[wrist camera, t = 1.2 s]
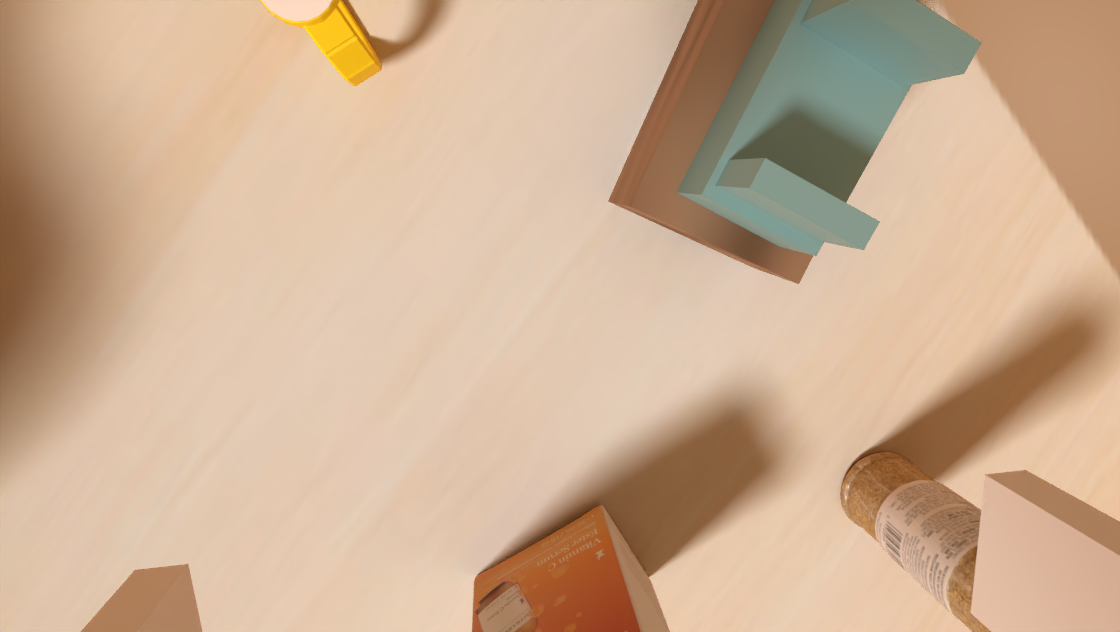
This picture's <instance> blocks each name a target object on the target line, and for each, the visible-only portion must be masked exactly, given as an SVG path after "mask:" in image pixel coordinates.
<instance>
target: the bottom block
mask: <svg viewBox="0 0 1120 632" xmlns="http://www.w3.org/2000/svg"><path fill="white" fill-rule="evenodd" d="M774 1H775V0H698V2H697V4H696V6H695V9H694V11H693V13H692V15H691V18H690V20H689V22H688V24H687V27H686V29H685V31H684V33H683V35H682V38H681V40H680V42H679V44H678V47H677V49H676V51H675V53H674V56H673V58H672V60H671V62H670V64H669V67H668V69H667V71H666V73H665V76H664V78H663V80H662V82H661V85H660V87H659V89H658V91H657V93H656V96H655V98H654V100H653V102H652V105H651V107H650V109H649V111H648V114H647V116H646V118H645V120H644V122H643V125H642V127H641V129H640V131H639V134H638V136H637V138H636V140H635V143H634V145H633V147H632V149H631V152H630V154H629V156H628V158H627V160H626V163H625V165H624V167H623V169H622V172H621V174H620V176H619V178H618V181H617V183H616V185H615V187H614V189H613V192H612V194H611V196H610V198H609V202H611V203H613V204H615V205H617V206H620V207H622V208H624V209H626V210H628V211H631V212H633V213H635V214H637V215H639V216H642V217H644V218H646V219H648V220H650V221H652V222H655V223H657V224H659V225H661V226H663V227H666V228H668V229H670V230H672V231H674V232H676V233H679V234H681V235H683V236H685V237H687V238H690V239H692V240H694V241H696V242H698V243H701V244H703V245H705V246H707V247H709V248H711V249H714V250H716V251H718V252H720V253H722V254H725V255H727V256H729V257H731V258H733V259H735V260H738V261H740V262H742V263H744V264H746V265H749V266H751V267H753V268H756V269H758V270H761V271H764V272H767V273H770V274H772V275H775V276H778V277H781V278H784V279H786V280H789V281H792V282H795V283H798V284H799V283H800V281H801V279H802V277H803V275H804V273H805V271H806V269H807V267H808V265H809V263H810V261H811V259H812V257H813V255H810V254H806V253H802V252H798V251H794V250H790V249H786V248H782V247H779V246H777V245H775V244H773V243H771V242H770V241H768V240H766V239H764V238H762V237H760V236H758V235H756V234H754V233H752V232H751V231H749V230H747V229H745V228H743V227H741V226H739V225H737V224H735V223H733V222H732V221H730V220H728V219H726V218H724V217H722V216H720V215H718V214H716V213H715V212H713V211H711V210H709V209H707V208H705V207H703V206H701V205H699V204H697V203H696V202H694V201H692V200H690V199H688V198H686V197H684V196H682V195H680V194H678V193H677V190H678V188H679V186H680V184H681V182H682V180H683V179H684V177H685V175H686V173H687V171H688V169H689V167H690V165H691V163H692V161H693V159H694V157H695V155H696V153H697V151H698V149H699V147H700V145H701V143H702V142H703V140H704V138H705V136H706V134H707V132H708V130H709V128H710V126H711V124H712V122H713V120H714V118H715V116H716V114H717V112H718V110H719V108H720V106H721V104H722V103H723V101H724V99H725V97H726V95H727V93H728V91H729V89H730V87H731V85H732V83H733V81H734V79H735V77H736V75H737V73H738V71H739V69H740V67H741V66H742V64H743V62H744V60H745V58H746V56H747V54H748V52H749V50H750V48H751V46H752V44H753V42H754V40H755V38H756V36H757V34H758V32H759V30H760V29H761V27H762V25H763V23H764V21H765V19H766V17H767V15H768V13H769V11H770V9H771V7H772V5H773V3H774Z"/></svg>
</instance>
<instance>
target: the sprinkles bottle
mask: <svg viewBox="0 0 1120 632" xmlns="http://www.w3.org/2000/svg"><path fill="white" fill-rule="evenodd" d="M841 501H842V507H843V509H844V511H845V513H846V515H847V516H848V517H849V518H850V519H851V520H852V521H853V522H854V523H856V524H857V525H858V526H860V527H862V528H863V529H864V530H865V531H866V532H867V533H868V534H870V535H871V536H872V537H873V538H874V539H875V540H876V541H877V542H878V543H879V544H880V546H881V547H882V548H883V550H884V551H885V552H886V553H887V554H888V555H889V556H891V557H892V558H893V559H894V560H895V561H896V562H897V563H898V564H899V565H900V566H901V567H902V568H903V569H904V570H905V571H906V572H907V573H908V574H909V575H910V576H912V577H913V578H914V579H915V580H916V581H917V582H918V583H919V584H920V585H921V586H922V587H923V588H924V589H925V590H926V591H927V592H928V593H929V594H930V595H932V596H933V597H934V598H935V599H936V600H937V601H938V602H939V603H940V604H941V605H942V606H943V607H944V608H945V609H947V610H948V611H949V612H950V613H951V614H952V615H953V616H954V617H955V618H956V619H957V620H959V621H960V622H962V623H964V624H965V625H966V626H967V627H968V628H969V629H970V630H971V631H972V632H991V631H990V630H989V629H988V628H987V627H986V626H984V625H983V624H982V623H981V622H980V621H979V620H978V619H977V618H976V617H974V616H973V615H972V614H971V604H972V594H973V585H974V575H975V566H976V556H977V547H978V537H979V528H980V518H981V510H980V509H979V508H977V507H976V506H974V505H973V504H971V503H970V502H968V501H967V500H965V499H964V498H962V497H961V496H960V495H958V494H957V493H955V492H954V491H952V490H951V489H949V488H948V487H946V486H945V485H943V484H941V483H938V482H936V481H935V480H933V479H932V478H931V477H929V476H927V475H926V474H924V473H923V472H922V471H920V470H919V469H917V468H916V467H915V466H914V465H913V464H912V463H911V462H910V461H909V460H908V459H906V458H905V457H903V456H901V455H898V454H895V453H891V452H882V453H875V454H872V455H869V456H867V457H865V458H863V459H861V460H860V461H858V462H857V463H856V464H855V465H854V466H853V467H852V468H851V469H850V471H849V472H848V473H847V475H846V477H845V479H844V481H843V483H842V486H841Z"/></svg>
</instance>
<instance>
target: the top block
mask: <svg viewBox="0 0 1120 632" xmlns="http://www.w3.org/2000/svg"><path fill="white" fill-rule="evenodd" d="M980 44H981V42H980V41H978V40H977V39H975V38H973V37H972V36H970V35H969V34H967V33H966V32H964V31H963V30H961V29H960V28H958V27H957V26H955V25H954V24H952V23H951V22H949V21H948V20H946V19H944V18H943V17H941V16H940V15H938V14H937V13H935V12H934V11H932V10H931V9H929V8H928V7H926V6H925V5H923V4H922V3H920V2H918V1H917V0H775V1H774V3H773V5H772V7H771V9H770V11H769V13H768V15H767V17H766V19H765V21H764V23H763V25H762V27H761V29H760V30H759V32H758V34H757V36H756V38H755V40H754V42H753V44H752V46H751V48H750V50H749V52H748V54H747V56H746V58H745V60H744V62H743V64H742V66H741V67H740V69H739V71H738V73H737V75H736V77H735V79H734V81H733V83H732V85H731V87H730V89H729V91H728V93H727V95H726V97H725V99H724V101H723V103H722V104H721V106H720V108H719V110H718V112H717V114H716V116H715V118H714V120H713V122H712V124H711V126H710V128H709V130H708V132H707V134H706V136H705V138H704V140H703V142H702V143H701V145H700V147H699V149H698V151H697V153H696V155H695V157H694V159H693V161H692V163H691V165H690V167H689V169H688V171H687V173H686V175H685V177H684V179H683V180H682V182H681V184H680V186H679V188H678V190H677V193H678V194H680V195H682V196H684V197H686V198H688V199H690V200H692V201H694V202H696V203H697V204H699V205H701V206H703V207H705V208H707V209H709V210H711V211H713V212H715V213H716V214H718V215H720V216H722V217H724V218H726V219H728V220H730V221H732V222H733V223H735V224H737V225H739V226H741V227H743V228H745V229H747V230H749V231H751V232H752V233H754V234H756V235H758V236H760V237H762V238H764V239H766V240H768V241H770V242H771V243H773V244H775V245H777V246H779V247H782V248H786V249H790V250H794V251H798V252H802V253H806V254H810V255H814V256H816V255H817V254H818V252H819V250H820V248H821V246H822V245H823V243H824V242H827V243H832V244H837V245H842V246H846V247H851V248H856V249H861V250H864V248H865V247H866V245H867V243H868V241H869V240H870V238H871V236H872V234H873V233H874V231H875V229H876V227H877V226H878V224H879V221H877V220H876V219H874V218H872V217H870V216H868V215H867V214H865V213H863V212H861V211H860V210H858V209H856V208H854V207H852V206H851V205H849V204H847V203H846V202H847V200H848V198H849V196H850V194H851V193H852V191H853V189H854V187H855V186H856V184H857V182H858V180H859V178H860V177H861V175H862V173H863V171H864V169H865V168H866V166H867V164H868V162H869V160H870V159H871V157H872V155H873V153H874V151H875V150H876V148H877V146H878V144H879V143H880V141H881V139H882V137H883V135H884V134H885V132H886V130H887V128H888V126H889V125H890V123H891V121H892V119H893V117H894V116H895V114H896V112H897V110H898V108H899V107H900V105H901V103H902V101H903V99H904V98H905V96H906V94H907V92H908V91H909V89H910V87H911V85H912V84H916V83H921V82H926V81H931V80H936V79H941V78H946V77H950V76H955V75H960V74H964V73H965V71H966V69H967V68H968V66H969V64H970V62H971V61H972V59H973V57H974V55H975V53H976V52H977V50H978V48H979V46H980Z"/></svg>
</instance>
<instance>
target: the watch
mask: <svg viewBox="0 0 1120 632" xmlns="http://www.w3.org/2000/svg"><path fill="white" fill-rule="evenodd" d="M260 1H261V3H262V4H263V5H264V6H265V7H266V9H267V10H268V11H269V12H270V13H271V14H273V15H274V16H275V17H277V18H278V19H280V20H281V21H283V22H285V23H286V24H289V25H293V26H297V27H304V28H305V30H306V31H307V32H308V34H309V35H310V36H311V38H312V39H313V40H314V42H315V43H316V45H317V46H318V47H319V49H320V50H321V51H322V53H323V54H324V55H325V56H326V58H327V59H328V60H329V61H330V63H331V64H332V65H333V66H334V67H335V68H336V70H337V71H338V72H339V73H340V74H341V76H342V77H344V79H345V80H346V81H348V82H349V83H350V84H351V85H354V86H357V85H358V84H360V83H362V82H363V81H365V80H366V79H368V78H369V77H371V76H373V75H374V74H376V73H377V72H379V71H380V70H381V69H382V65H381V63H380V60H379V58H378V57H377V55H376V53H375V51H374V50H373V48H372V46H371V45H370V43H369V41H368V40H367V38H366V37H365V35H364V34H363V32H362V30H361V29H360V27H359V26H358V24H357V23H356V21H355V19H354V18H353V16H352V15H351V13H350V12H349V10H348V9H347V7H346V5H345V4H344V2H343V1H342V0H260Z"/></svg>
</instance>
